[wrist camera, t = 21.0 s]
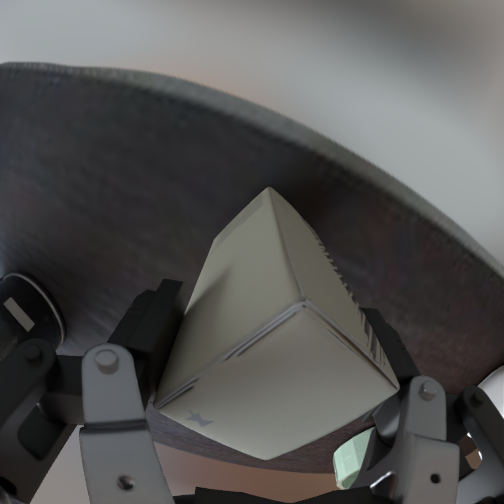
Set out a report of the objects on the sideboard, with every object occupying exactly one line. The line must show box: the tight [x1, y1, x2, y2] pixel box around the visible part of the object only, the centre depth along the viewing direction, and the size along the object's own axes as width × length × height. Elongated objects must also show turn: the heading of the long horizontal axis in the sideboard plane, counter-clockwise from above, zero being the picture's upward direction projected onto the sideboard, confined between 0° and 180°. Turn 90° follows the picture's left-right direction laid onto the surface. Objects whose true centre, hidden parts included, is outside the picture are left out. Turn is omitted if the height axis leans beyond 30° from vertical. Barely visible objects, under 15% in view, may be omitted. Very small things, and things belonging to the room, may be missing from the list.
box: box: [153, 187, 400, 460], centre depth 12 cm, size 5×4×13 cm
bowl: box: [333, 427, 375, 489], centre depth 28 cm, size 15×15×6 cm
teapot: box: [467, 365, 504, 437], centre depth 22 cm, size 22×14×11 cm, turn 72°
